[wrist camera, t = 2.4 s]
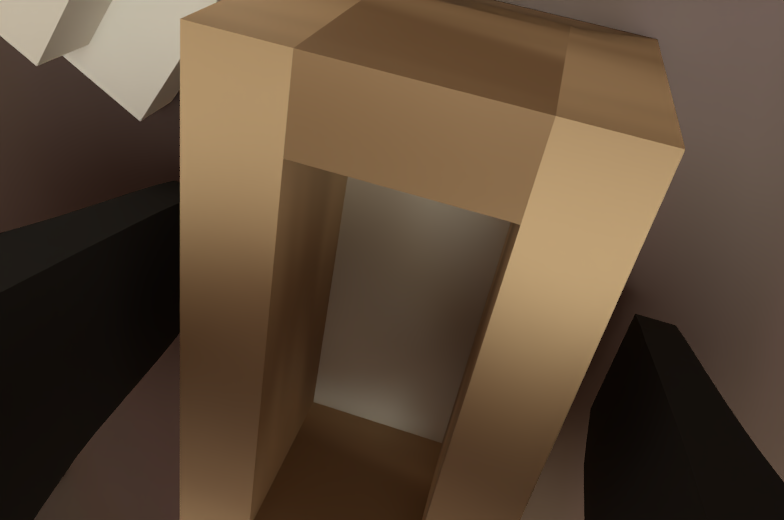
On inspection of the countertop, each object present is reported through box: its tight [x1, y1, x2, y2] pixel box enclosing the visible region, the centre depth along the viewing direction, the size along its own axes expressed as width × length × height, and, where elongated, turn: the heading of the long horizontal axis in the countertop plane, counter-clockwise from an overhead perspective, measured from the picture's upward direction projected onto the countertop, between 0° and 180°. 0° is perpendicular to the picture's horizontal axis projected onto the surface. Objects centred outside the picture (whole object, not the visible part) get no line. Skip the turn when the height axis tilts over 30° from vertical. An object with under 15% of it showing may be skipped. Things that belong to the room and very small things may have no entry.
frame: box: [180, 0, 685, 520], centre depth 11 cm, size 9×5×4 cm, turn 170°
